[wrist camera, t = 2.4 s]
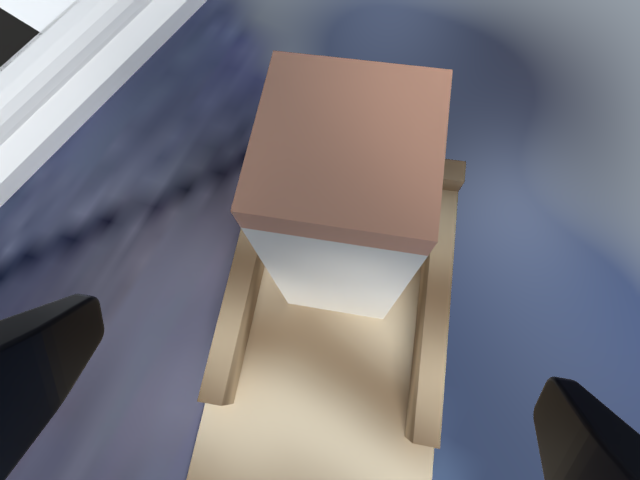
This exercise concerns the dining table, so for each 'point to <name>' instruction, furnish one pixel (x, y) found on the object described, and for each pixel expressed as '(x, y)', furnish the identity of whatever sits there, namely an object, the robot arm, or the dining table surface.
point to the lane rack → (327, 376)
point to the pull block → (345, 178)
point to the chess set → (69, 69)
